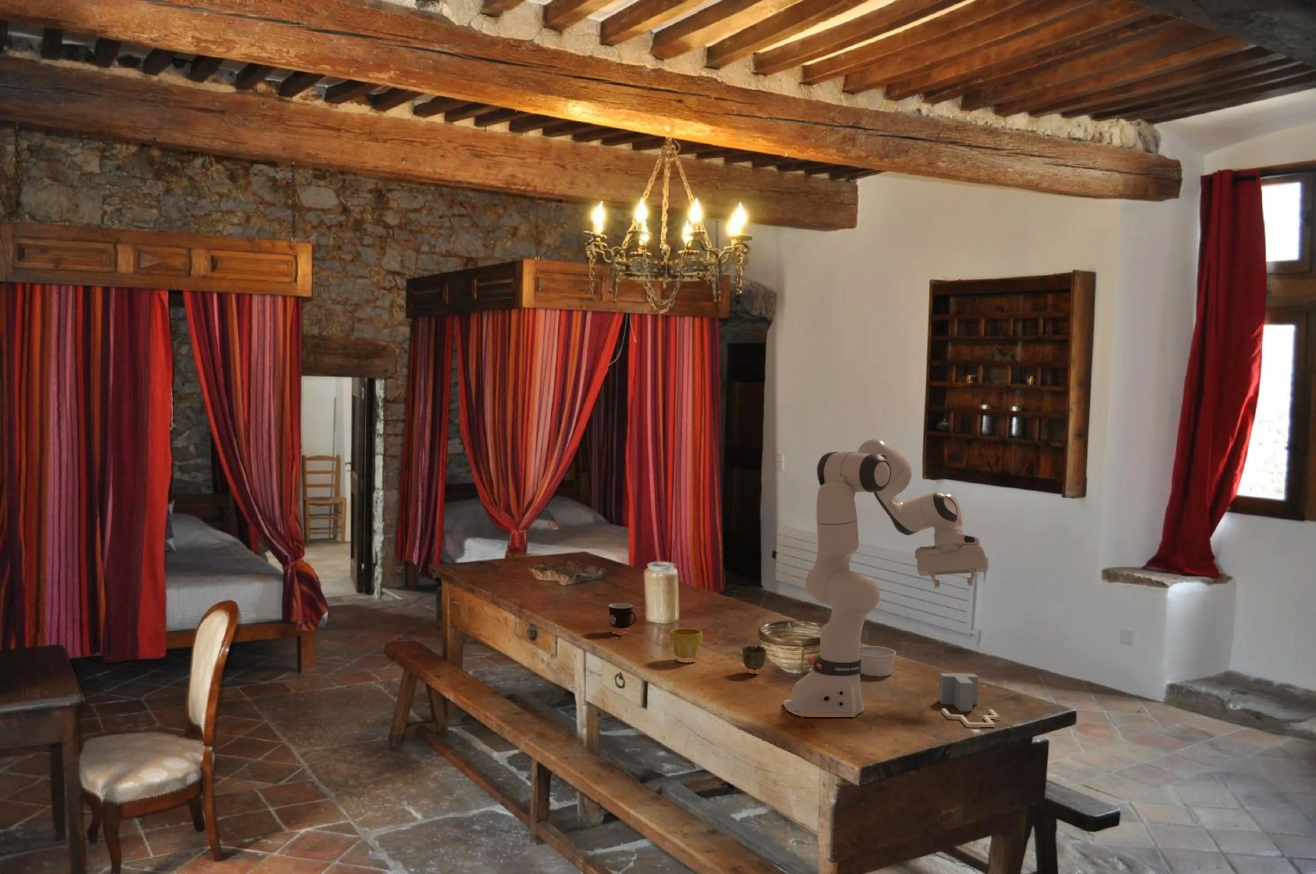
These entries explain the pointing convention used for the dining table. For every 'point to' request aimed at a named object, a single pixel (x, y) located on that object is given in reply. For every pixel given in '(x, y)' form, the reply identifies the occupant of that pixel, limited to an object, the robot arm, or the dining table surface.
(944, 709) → the t outline
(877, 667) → the ramekin
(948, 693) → the t block
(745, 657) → the cup
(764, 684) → the dining table surface
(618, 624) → the coffee mug
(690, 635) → the plant pot
